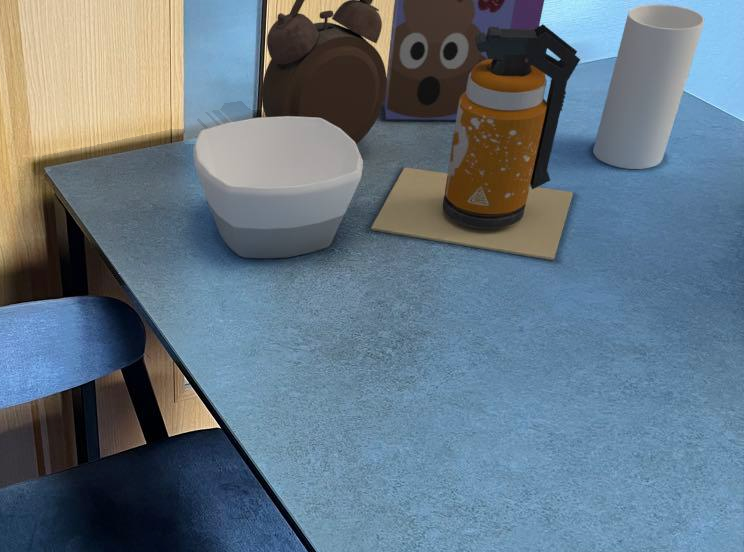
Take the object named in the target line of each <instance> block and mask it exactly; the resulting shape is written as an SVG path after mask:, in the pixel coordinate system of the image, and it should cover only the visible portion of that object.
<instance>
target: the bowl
mask: <svg viewBox="0 0 744 552" xmlns="http://www.w3.org/2000/svg"><path fill="white" fill-rule="evenodd" d="M192 157H193V161H194V162H193V164H194V168H195V171H196V174H197V176H198V180H199V182H200V185H201V188H202V190H203V193H204V197H205V198H206V201H207V203H208V205H209V208H210V211H211V214H212V216H213V218H214V222H215V224H216V226H217V230H218V232H219V235H220V237H221V239H223V241H224V242H225V244H226V245H227V247H228V248H229V249H231V250H232V251H233V252H234V253H235V254H237V255H238V256H240V257H242V258H246V259H283V258H285V259H286V258H292V257H296V256H303V255H306V254H310V253H314V252H317V251H320V250H323V249H327V248H329V247H330V246H331V244H332V242H333V240H334V238H335V236H336V233H337V231H338V229H339V227H340V224H341V222H342V220H343V218H344V216H345V214H346V212H347V210H348V208H349V206H350V204H351V201H352V199H353V197H354V195H355V192H356V190H357V189H358V186H359V184H360V182H361V180H362V176H363V168H364V160H363V158H362V155H361V152H360V150H359V147H358V145H357V144H356V143H355V141H354V140H352V139H351V138H350V137H349V136H348V135H347V134H346V133H345V132H344V131H343V130H341V129H340V128H339V127H337V126H335V125H333V124H331V123H329V122H328V121H326V120H324V119H322V118H314V117H293V116H284V117H266V116H263V117H253V118H248V119H247V118H246V119H242V120H235V121H229V122H225V123H222V124H219V125H215V126H211V127H208V128H204V129H202V130H200V132H199V134H198V136H197V139H196V141H195V143H194V146H193V149H192Z"/></svg>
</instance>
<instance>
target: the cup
mask: <svg viewBox="0 0 744 552" xmlns="http://www.w3.org/2000/svg"><path fill="white" fill-rule="evenodd" d="M704 26H705V17H704V16H703V15H702V14H701V13H699V12H697V11H696V10H693V9H690V8H688V7H684V6H678V5H672V4H661V3H660V4H656V3H655V4H645V5H639V6H635V7H633V8H631V9H630V10H629V11H628V14H627V16H626V19H625V24H624V28H623V32H622V36H621V40H620V43H619V47H618V51H617V54H616V55H617V56H616V60H615V63H614V67H613V71H612V75H611V78H610V83H609V87H608V89H607V95H606V99H605V102H604V106H603V110H602V113H601V117H600V122H599V126H598V130H597V133H596V138H595V141H594V145H593V149H592V152H593V155H594V157H596V158H597V160H599V161H601V162H603V163H605V164H607V165H609V166H613V167H615V168H621V169H628V170H644V169H650V168H653V167H656V166H659V164H660V163H662V161H663V159H664V156H665V152H666V149H667V146H668V143H669V139H670V136H671V133H672V130H673V126H674V123H675V120H676V116H677V113H678V111H679V106H680V103H681V100H682V97H683V95H684V90H685V87H686V83H687V80H688V77H689V74H690V71H691V68H692V63H693V61H694V58H695V55H696V51H697V47H698V44H699V42H700V38H701V34H702V31H703V28H704Z"/></svg>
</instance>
